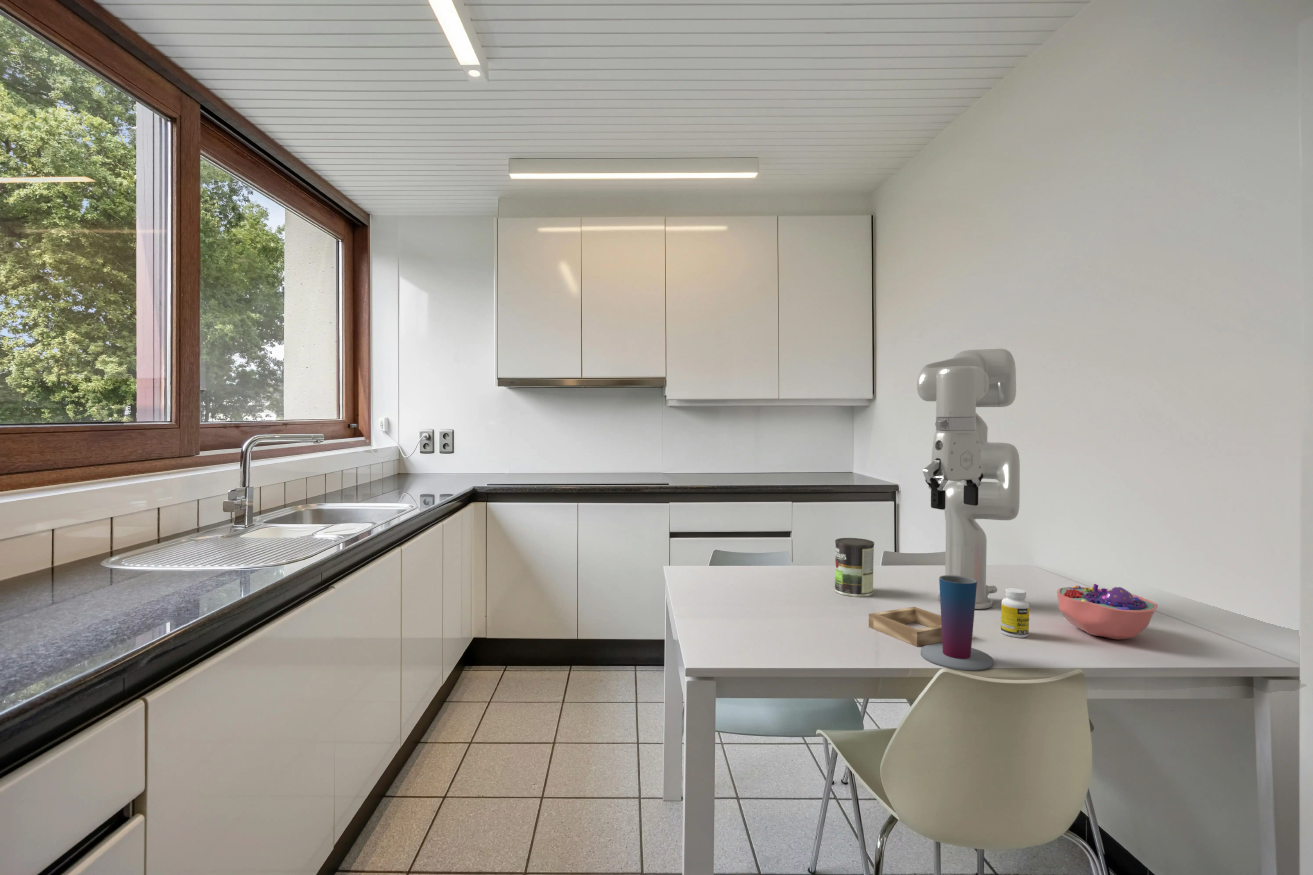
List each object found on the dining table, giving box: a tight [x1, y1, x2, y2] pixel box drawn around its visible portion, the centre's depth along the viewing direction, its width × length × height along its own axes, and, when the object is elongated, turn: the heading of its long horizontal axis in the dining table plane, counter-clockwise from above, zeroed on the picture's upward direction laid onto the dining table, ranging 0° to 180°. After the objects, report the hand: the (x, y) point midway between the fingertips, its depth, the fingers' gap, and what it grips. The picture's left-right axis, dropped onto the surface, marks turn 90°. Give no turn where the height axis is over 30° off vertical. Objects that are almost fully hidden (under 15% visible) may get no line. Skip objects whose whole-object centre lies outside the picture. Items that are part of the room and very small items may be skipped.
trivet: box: [920, 643, 994, 672], centre depth 127 cm, size 13×13×1 cm
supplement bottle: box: [1000, 587, 1030, 639], centre depth 142 cm, size 5×5×10 cm
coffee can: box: [834, 537, 875, 598], centre depth 176 cm, size 10×10×14 cm
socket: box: [868, 606, 942, 647], centre depth 143 cm, size 14×14×3 cm
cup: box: [938, 574, 977, 659], centre depth 127 cm, size 7×7×15 cm
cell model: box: [1056, 583, 1159, 641], centre depth 142 cm, size 17×20×11 cm
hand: (954, 506), depth 135 cm, fingers open, 9 cm apart
